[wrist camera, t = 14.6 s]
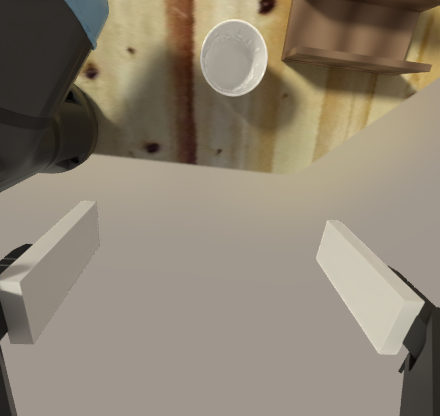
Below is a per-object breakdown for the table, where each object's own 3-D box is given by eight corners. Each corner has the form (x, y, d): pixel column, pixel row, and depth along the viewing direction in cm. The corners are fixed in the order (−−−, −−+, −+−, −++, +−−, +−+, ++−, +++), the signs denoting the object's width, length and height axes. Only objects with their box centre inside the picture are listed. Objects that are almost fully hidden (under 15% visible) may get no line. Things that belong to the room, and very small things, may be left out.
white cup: (259, 83, 41) (275, 81, 32) (212, 103, 42) (215, 106, 33) (243, 26, 38) (255, 6, 29) (192, 49, 39) (189, 36, 30)
